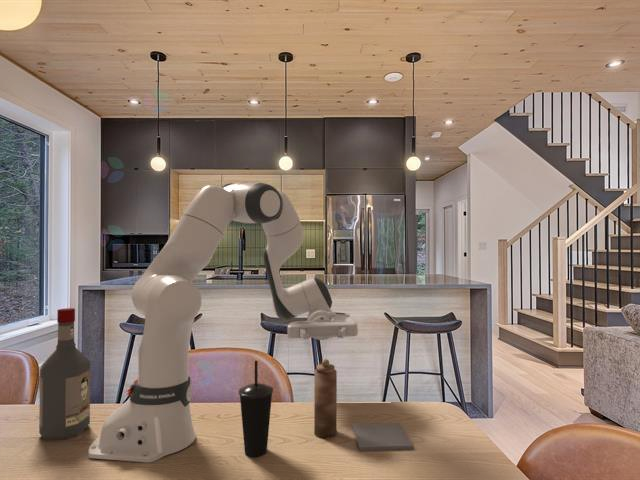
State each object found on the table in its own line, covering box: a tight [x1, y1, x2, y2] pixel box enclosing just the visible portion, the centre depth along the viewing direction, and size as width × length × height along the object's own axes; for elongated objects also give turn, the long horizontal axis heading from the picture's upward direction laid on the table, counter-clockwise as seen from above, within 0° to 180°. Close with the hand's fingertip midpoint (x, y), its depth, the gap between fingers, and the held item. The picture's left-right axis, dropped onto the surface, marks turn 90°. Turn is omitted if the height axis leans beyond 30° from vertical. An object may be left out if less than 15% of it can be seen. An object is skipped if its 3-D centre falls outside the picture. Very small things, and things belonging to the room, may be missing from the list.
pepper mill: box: [313, 358, 338, 439], centre depth 99 cm, size 5×5×18 cm
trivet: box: [351, 422, 414, 452], centre depth 96 cm, size 12×12×1 cm
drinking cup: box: [238, 360, 274, 458], centre depth 90 cm, size 8×8×20 cm
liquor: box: [38, 307, 91, 440], centre depth 100 cm, size 9×9×30 cm
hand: (323, 335), depth 110 cm, fingers open, 8 cm apart
